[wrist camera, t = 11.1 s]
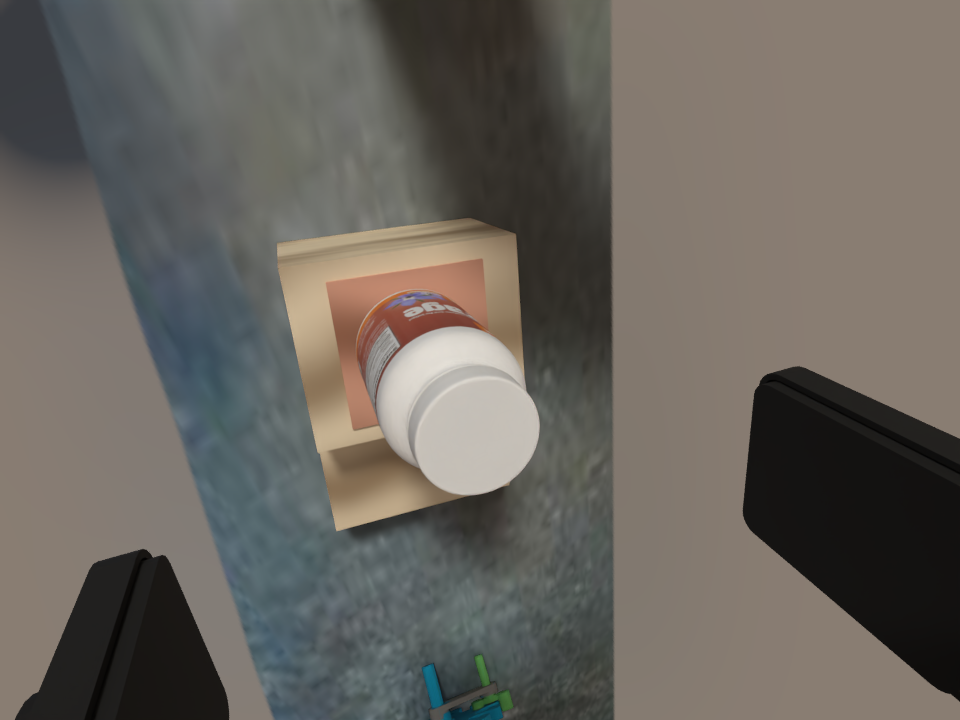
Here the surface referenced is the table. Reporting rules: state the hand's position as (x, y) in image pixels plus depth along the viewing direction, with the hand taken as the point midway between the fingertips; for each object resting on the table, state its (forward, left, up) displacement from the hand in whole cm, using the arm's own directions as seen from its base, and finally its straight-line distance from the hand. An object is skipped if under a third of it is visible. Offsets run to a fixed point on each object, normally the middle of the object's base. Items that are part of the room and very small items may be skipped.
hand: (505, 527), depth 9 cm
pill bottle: (+1, +5, -21) cm, 22 cm away
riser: (+4, +8, -29) cm, 31 cm away
